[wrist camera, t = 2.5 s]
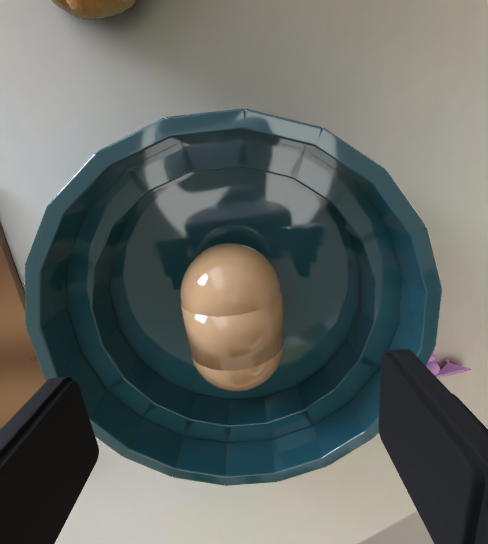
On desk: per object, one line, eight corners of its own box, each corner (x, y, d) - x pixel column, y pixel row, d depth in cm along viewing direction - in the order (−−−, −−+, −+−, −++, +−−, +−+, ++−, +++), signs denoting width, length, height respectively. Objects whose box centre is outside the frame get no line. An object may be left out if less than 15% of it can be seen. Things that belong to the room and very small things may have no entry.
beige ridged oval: (182, 237, 15) (159, 265, 11) (273, 229, 15) (284, 253, 11) (202, 357, 17) (189, 418, 13) (281, 351, 17) (293, 410, 13)
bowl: (37, 147, 14) (-44, 139, 10) (400, 108, 13) (466, 83, 10) (119, 427, 19) (86, 495, 15) (383, 407, 19) (421, 472, 15)
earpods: (435, 348, 19) (464, 339, 18) (447, 375, 18) (478, 368, 17) (402, 350, 18) (429, 340, 16) (414, 379, 17) (444, 371, 16)
